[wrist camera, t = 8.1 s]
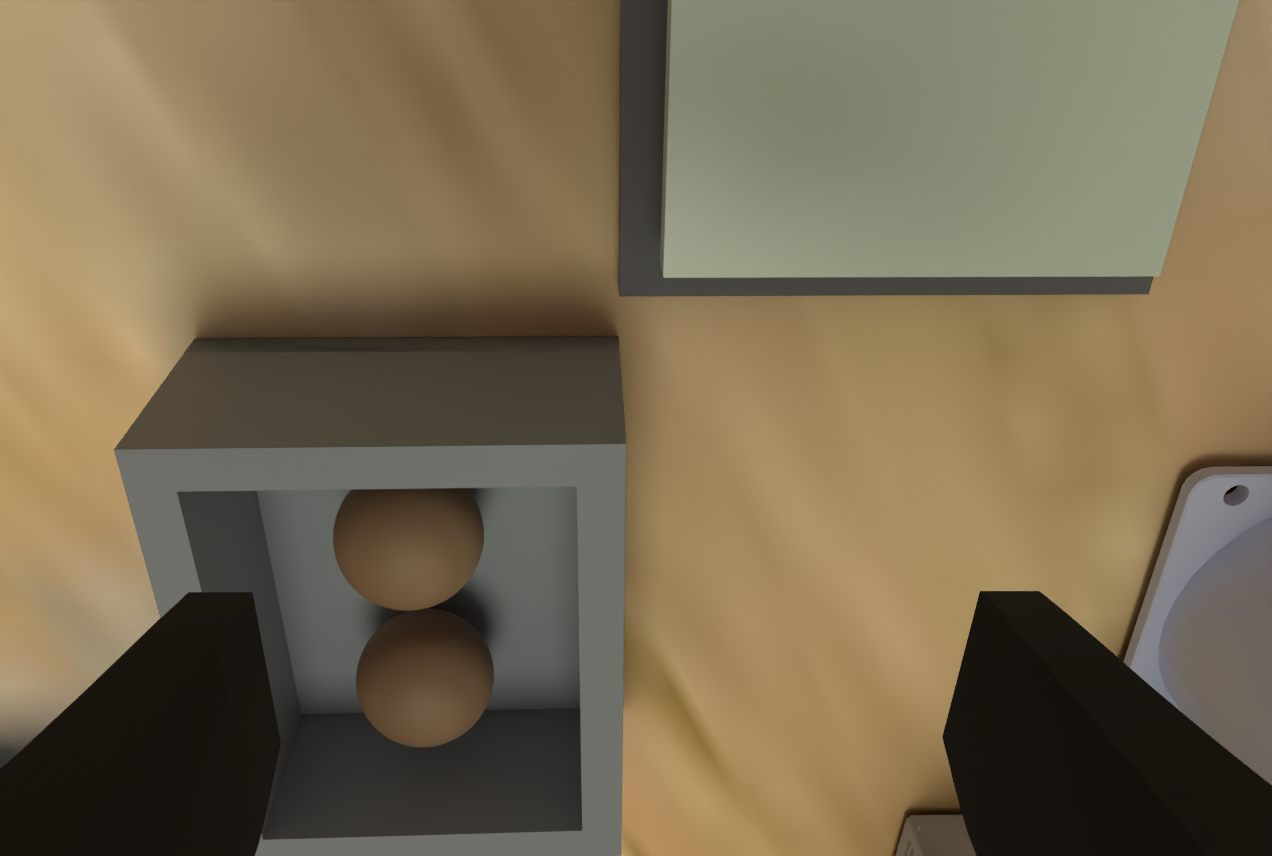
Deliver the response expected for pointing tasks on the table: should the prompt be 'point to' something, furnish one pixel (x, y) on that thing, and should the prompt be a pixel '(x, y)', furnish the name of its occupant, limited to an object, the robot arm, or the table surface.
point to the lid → (932, 135)
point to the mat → (644, 278)
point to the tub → (345, 621)
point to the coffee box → (935, 836)
